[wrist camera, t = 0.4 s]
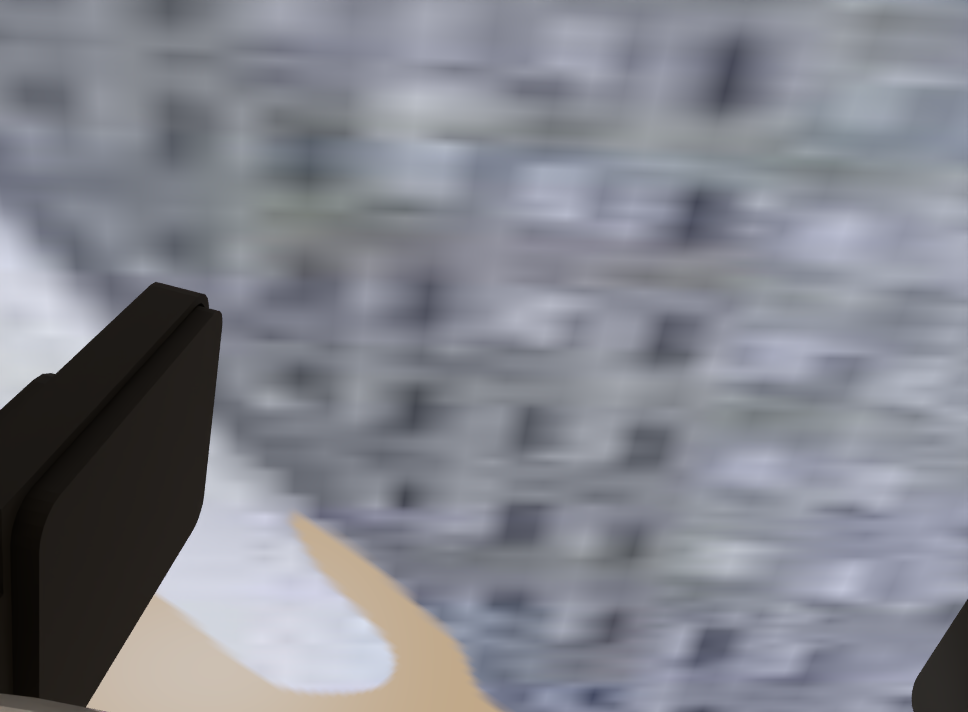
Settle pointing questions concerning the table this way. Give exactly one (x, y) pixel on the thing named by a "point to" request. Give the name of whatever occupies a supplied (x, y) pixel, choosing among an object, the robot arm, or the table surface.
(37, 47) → the table surface
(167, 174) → the table surface
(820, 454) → the table surface
